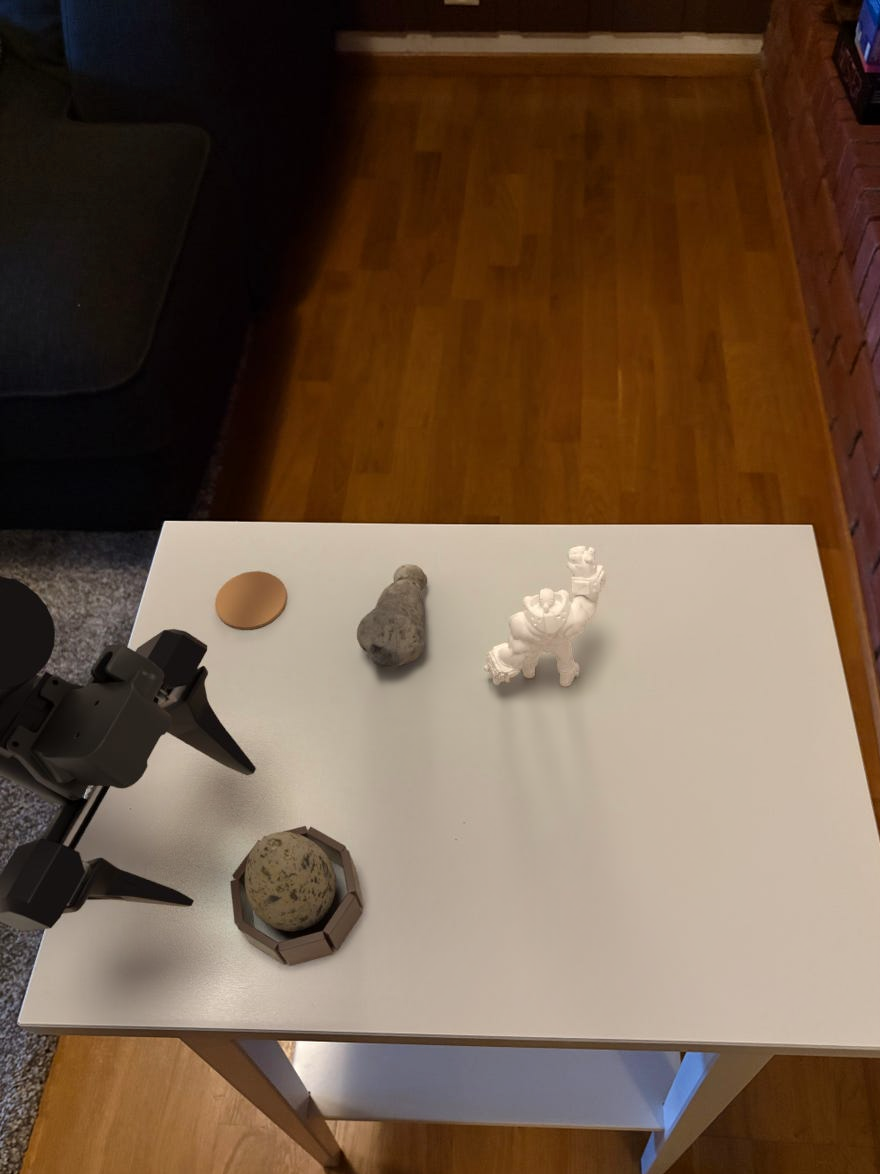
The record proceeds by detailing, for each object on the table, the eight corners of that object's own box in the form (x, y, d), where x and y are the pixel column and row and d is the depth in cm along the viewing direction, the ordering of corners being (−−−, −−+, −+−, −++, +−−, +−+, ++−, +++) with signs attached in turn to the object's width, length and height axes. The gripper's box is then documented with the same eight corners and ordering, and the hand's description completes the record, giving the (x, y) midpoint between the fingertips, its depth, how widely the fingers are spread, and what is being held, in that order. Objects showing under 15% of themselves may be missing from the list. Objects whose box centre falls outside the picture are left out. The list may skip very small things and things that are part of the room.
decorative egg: (245, 900, 65) (206, 846, 57) (312, 847, 67) (284, 788, 59) (292, 962, 63) (258, 915, 54) (360, 905, 65) (337, 852, 57)
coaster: (219, 637, 79) (218, 634, 79) (213, 582, 83) (211, 579, 82) (291, 620, 80) (290, 617, 79) (282, 567, 83) (281, 564, 83)
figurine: (581, 625, 78) (591, 533, 69) (615, 667, 76) (630, 577, 66) (479, 676, 76) (474, 587, 66) (510, 721, 73) (510, 636, 63)
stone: (402, 582, 83) (331, 570, 77) (440, 555, 80) (370, 541, 74) (424, 682, 80) (352, 677, 74) (465, 659, 76) (393, 652, 71)
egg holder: (251, 976, 62) (238, 962, 59) (238, 864, 67) (225, 846, 64) (370, 943, 63) (363, 927, 60) (349, 835, 68) (341, 816, 65)
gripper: (-82, 847, 39) (215, 982, 46) (125, 537, 50) (344, 686, 57) (-127, 868, 47) (133, 981, 54) (60, 597, 58) (259, 721, 65)
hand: (222, 835), depth 57 cm, fingers open, 9 cm apart
